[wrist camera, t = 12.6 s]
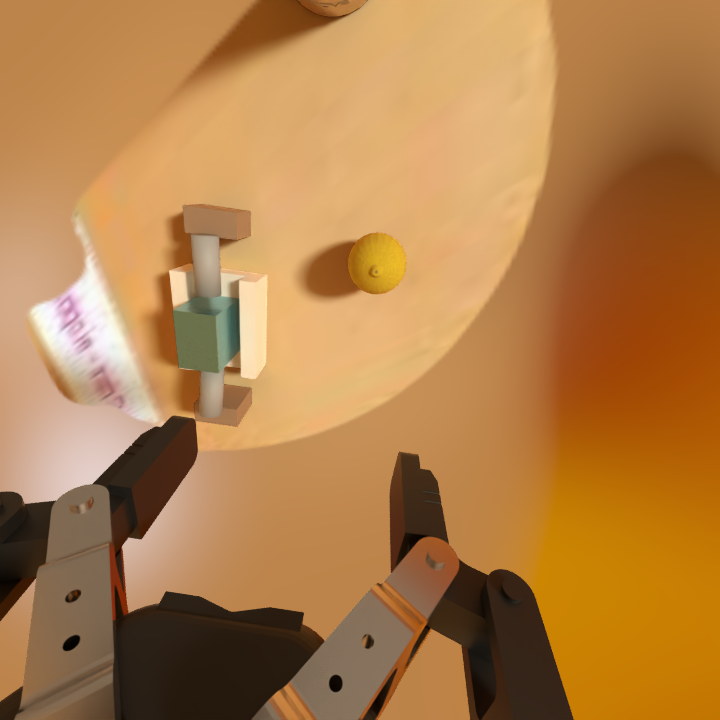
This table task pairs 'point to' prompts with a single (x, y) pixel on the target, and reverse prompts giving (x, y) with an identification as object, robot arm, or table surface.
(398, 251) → the lemon
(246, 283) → the shaft rig
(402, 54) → the table surface
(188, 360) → the green rectangular block
